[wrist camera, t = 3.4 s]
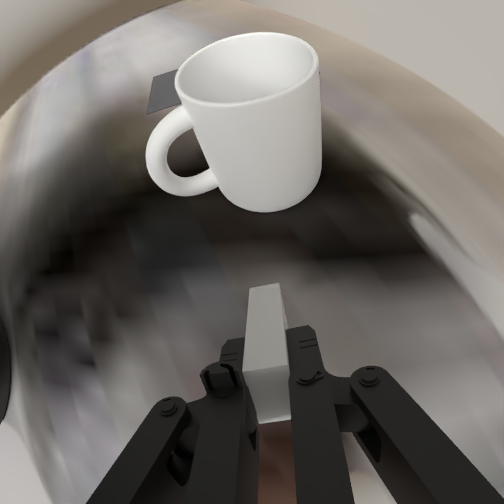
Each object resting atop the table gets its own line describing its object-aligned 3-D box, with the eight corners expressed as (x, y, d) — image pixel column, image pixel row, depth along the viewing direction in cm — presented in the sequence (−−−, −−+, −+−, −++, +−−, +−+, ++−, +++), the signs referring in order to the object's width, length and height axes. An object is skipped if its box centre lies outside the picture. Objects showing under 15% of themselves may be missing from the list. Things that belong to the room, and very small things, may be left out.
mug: (197, 260, 23) (128, 167, 14) (164, 183, 27) (108, 92, 17) (342, 185, 23) (349, 69, 14) (288, 123, 27) (272, 21, 18)
